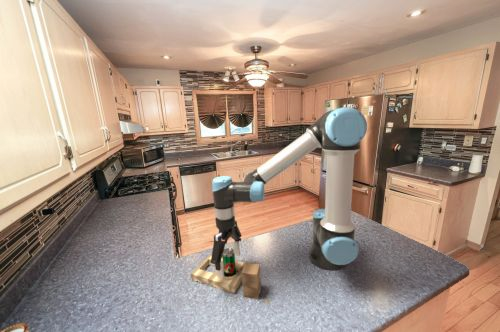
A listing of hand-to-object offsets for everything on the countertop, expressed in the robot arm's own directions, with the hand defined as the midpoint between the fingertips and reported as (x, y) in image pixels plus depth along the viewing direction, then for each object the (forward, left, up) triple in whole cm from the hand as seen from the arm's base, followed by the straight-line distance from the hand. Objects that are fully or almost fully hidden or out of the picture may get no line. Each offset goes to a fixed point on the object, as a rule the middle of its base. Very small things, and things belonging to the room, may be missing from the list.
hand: (229, 264), depth 84 cm
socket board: (+4, 0, -6) cm, 7 cm away
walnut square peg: (-12, +4, -6) cm, 14 cm away
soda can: (0, 0, -6) cm, 6 cm away
